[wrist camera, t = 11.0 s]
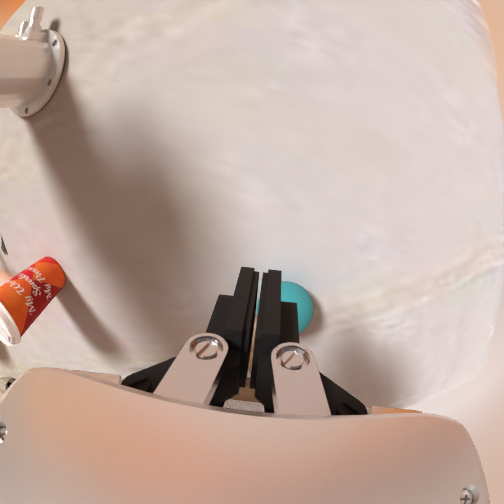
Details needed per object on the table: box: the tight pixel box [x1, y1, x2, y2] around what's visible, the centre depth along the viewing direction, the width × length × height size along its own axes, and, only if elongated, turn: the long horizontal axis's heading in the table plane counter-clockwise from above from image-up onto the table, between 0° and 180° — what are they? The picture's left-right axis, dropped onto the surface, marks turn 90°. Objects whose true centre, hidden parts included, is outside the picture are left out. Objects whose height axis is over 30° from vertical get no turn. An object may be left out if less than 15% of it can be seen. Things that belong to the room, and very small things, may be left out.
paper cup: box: [0, 257, 65, 346], centre depth 29 cm, size 8×8×14 cm
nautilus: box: [0, 377, 15, 394], centre depth 57 cm, size 8×22×15 cm
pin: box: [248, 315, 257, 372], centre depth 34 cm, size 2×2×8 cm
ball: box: [257, 282, 313, 334], centre depth 29 cm, size 6×6×6 cm
